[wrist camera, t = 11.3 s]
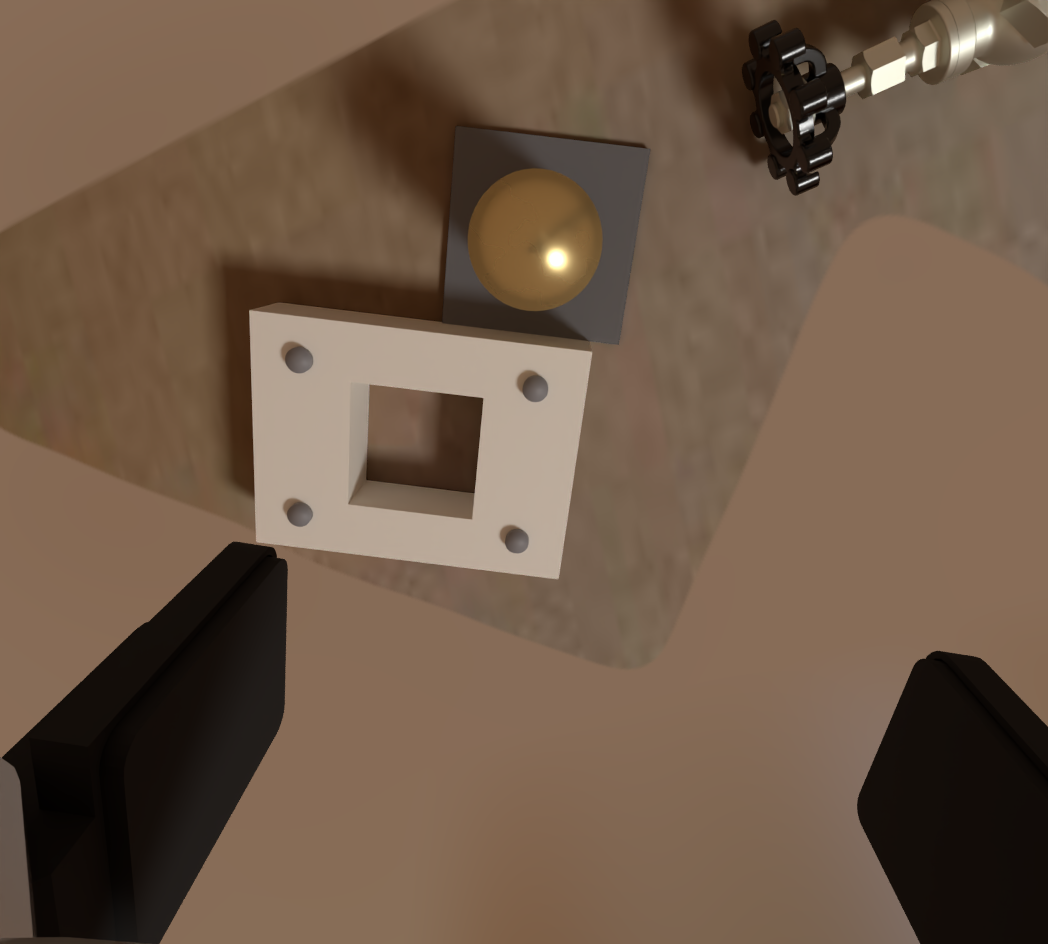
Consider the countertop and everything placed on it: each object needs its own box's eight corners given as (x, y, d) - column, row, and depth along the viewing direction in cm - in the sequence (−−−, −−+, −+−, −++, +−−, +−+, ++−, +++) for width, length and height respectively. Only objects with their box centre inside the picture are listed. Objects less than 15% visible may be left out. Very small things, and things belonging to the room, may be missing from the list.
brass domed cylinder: (596, 189, 31) (611, 176, 23) (583, 294, 33) (592, 317, 25) (495, 178, 31) (472, 161, 23) (487, 284, 33) (463, 303, 25)
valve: (1011, -84, 28) (729, 51, 30) (1143, -174, 21) (774, 5, 24) (1037, 83, 30) (771, 199, 32) (1165, 45, 23) (823, 192, 25)
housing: (588, 339, 34) (592, 353, 31) (558, 549, 38) (558, 583, 35) (278, 302, 34) (245, 311, 31) (281, 515, 38) (252, 545, 35)
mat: (649, 149, 31) (650, 148, 31) (618, 343, 34) (618, 344, 34) (456, 127, 31) (455, 125, 31) (443, 322, 34) (441, 323, 34)
